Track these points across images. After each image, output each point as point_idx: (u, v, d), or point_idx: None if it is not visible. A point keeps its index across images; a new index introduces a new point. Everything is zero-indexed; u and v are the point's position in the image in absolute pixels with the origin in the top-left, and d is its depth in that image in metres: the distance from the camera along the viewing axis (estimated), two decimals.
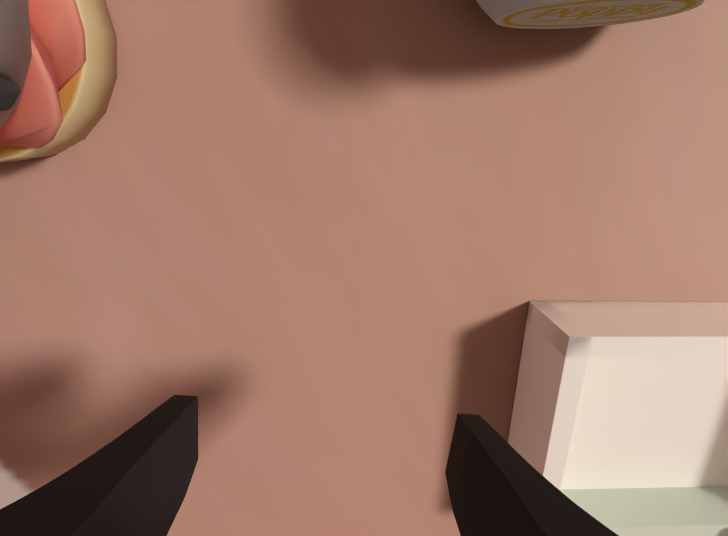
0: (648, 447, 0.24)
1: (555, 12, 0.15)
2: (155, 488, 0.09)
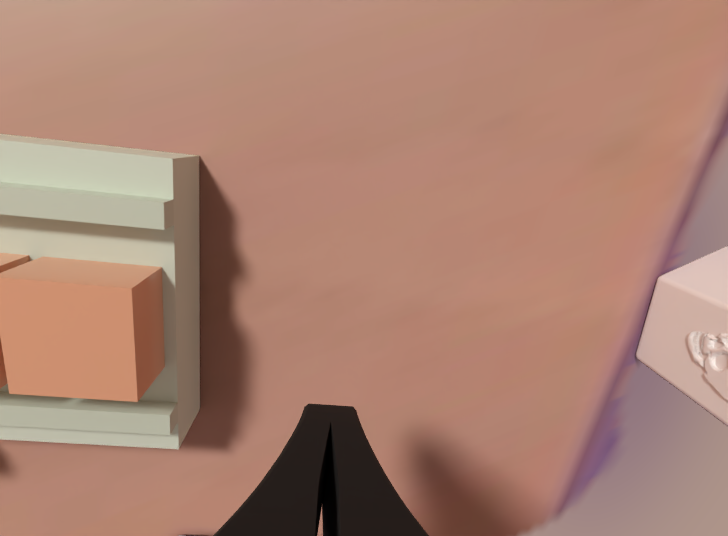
0: None
1: None
2: (319, 496, 0.09)
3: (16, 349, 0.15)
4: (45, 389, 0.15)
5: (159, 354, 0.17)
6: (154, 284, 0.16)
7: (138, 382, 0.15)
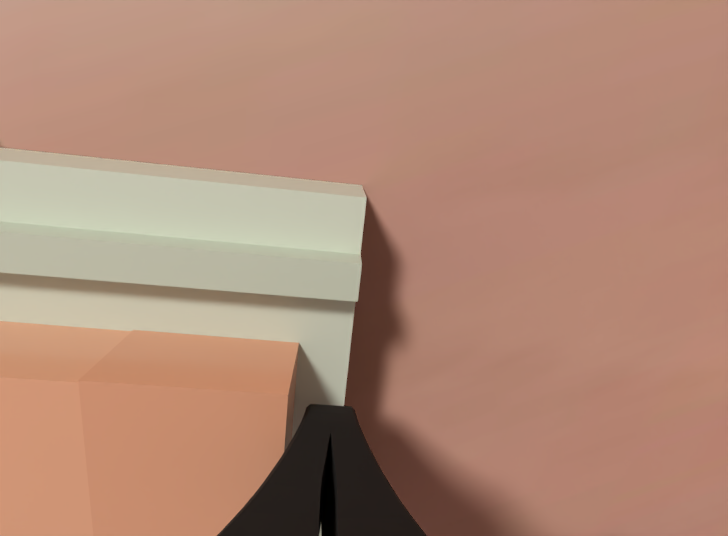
0: None
1: None
2: (321, 496, 0.09)
3: (108, 480, 0.10)
4: (146, 532, 0.10)
5: None
6: (295, 370, 0.11)
7: None
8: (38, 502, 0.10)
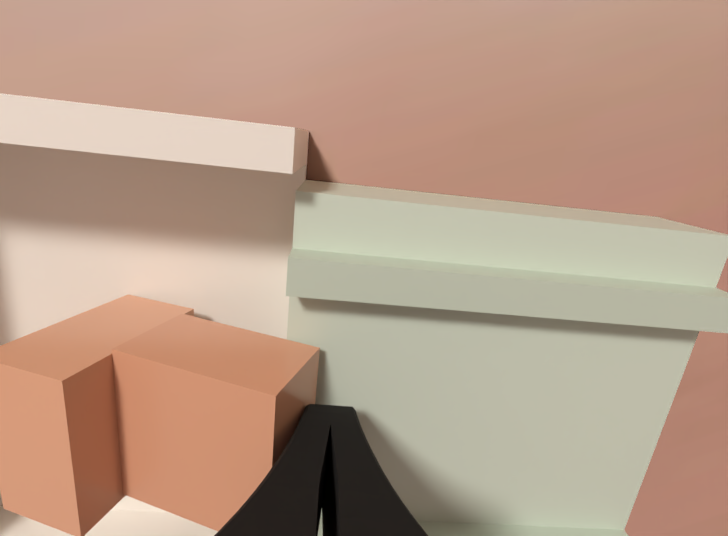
0: None
1: None
2: (320, 496, 0.09)
3: (132, 444, 0.11)
4: (160, 500, 0.11)
5: None
6: (307, 375, 0.11)
7: None
8: None
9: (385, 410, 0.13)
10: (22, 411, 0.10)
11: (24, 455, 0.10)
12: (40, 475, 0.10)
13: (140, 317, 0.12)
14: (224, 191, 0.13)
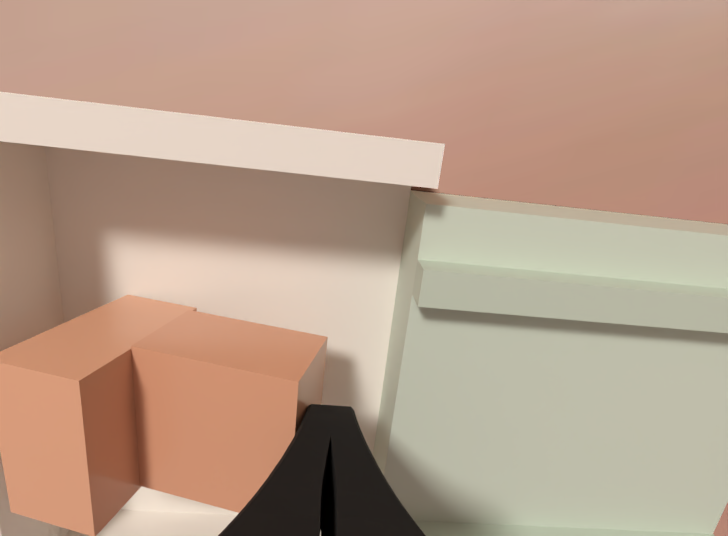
0: None
1: None
2: (322, 496, 0.09)
3: (151, 437, 0.11)
4: (179, 489, 0.12)
5: None
6: (319, 362, 0.12)
7: None
8: None
9: (492, 417, 0.13)
10: (34, 412, 0.10)
11: (35, 457, 0.10)
12: (52, 476, 0.10)
13: (145, 317, 0.12)
14: (332, 201, 0.13)
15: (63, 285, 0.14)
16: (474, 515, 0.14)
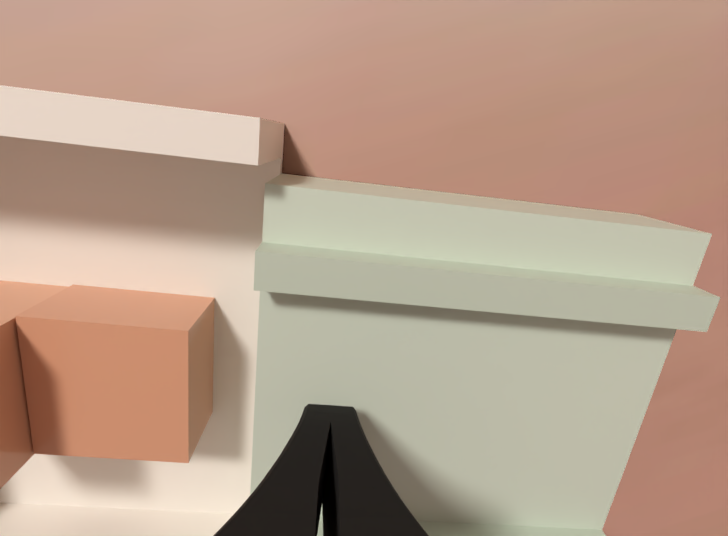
0: None
1: None
2: (319, 496, 0.09)
3: (43, 402, 0.12)
4: (77, 448, 0.12)
5: (208, 399, 0.14)
6: (207, 319, 0.13)
7: (189, 439, 0.13)
8: None
9: (359, 408, 0.12)
10: None
11: None
12: None
13: (13, 298, 0.12)
14: (198, 184, 0.13)
15: None
16: None
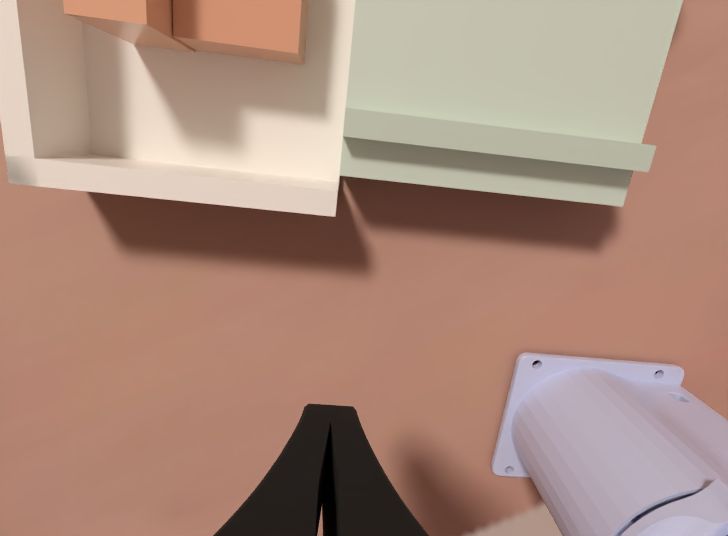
0: None
1: None
2: (319, 496, 0.09)
3: None
4: (209, 33, 0.15)
5: (304, 40, 0.17)
6: None
7: (299, 30, 0.15)
8: None
9: None
10: None
11: None
12: None
13: None
14: None
15: None
16: (430, 110, 0.16)
